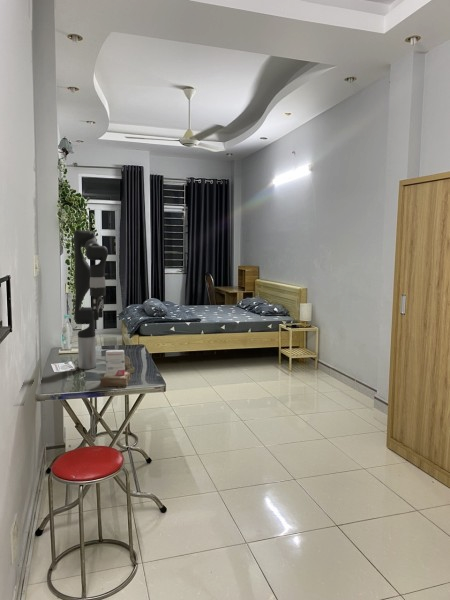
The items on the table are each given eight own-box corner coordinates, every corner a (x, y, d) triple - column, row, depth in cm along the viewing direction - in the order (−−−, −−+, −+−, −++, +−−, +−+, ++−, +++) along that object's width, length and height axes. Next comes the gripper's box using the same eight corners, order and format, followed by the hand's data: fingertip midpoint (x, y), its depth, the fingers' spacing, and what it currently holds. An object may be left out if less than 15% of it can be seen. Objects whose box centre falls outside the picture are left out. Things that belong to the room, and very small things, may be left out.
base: (106, 379, 231) (106, 371, 231) (130, 379, 231) (130, 371, 231) (100, 386, 219) (100, 378, 219) (126, 386, 219) (126, 377, 219)
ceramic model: (108, 376, 237) (108, 357, 236) (104, 371, 247) (104, 353, 246) (136, 373, 243) (135, 354, 242) (130, 368, 253) (130, 350, 252)
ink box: (125, 372, 228) (124, 349, 227) (124, 375, 223) (124, 351, 222) (106, 373, 227) (106, 349, 226) (105, 376, 222) (105, 351, 221)
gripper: (93, 285, 236) (94, 316, 238) (86, 287, 222) (87, 320, 224) (108, 285, 237) (109, 316, 238) (101, 287, 222) (102, 320, 224)
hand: (98, 318), depth 231 cm, fingers open, 8 cm apart
